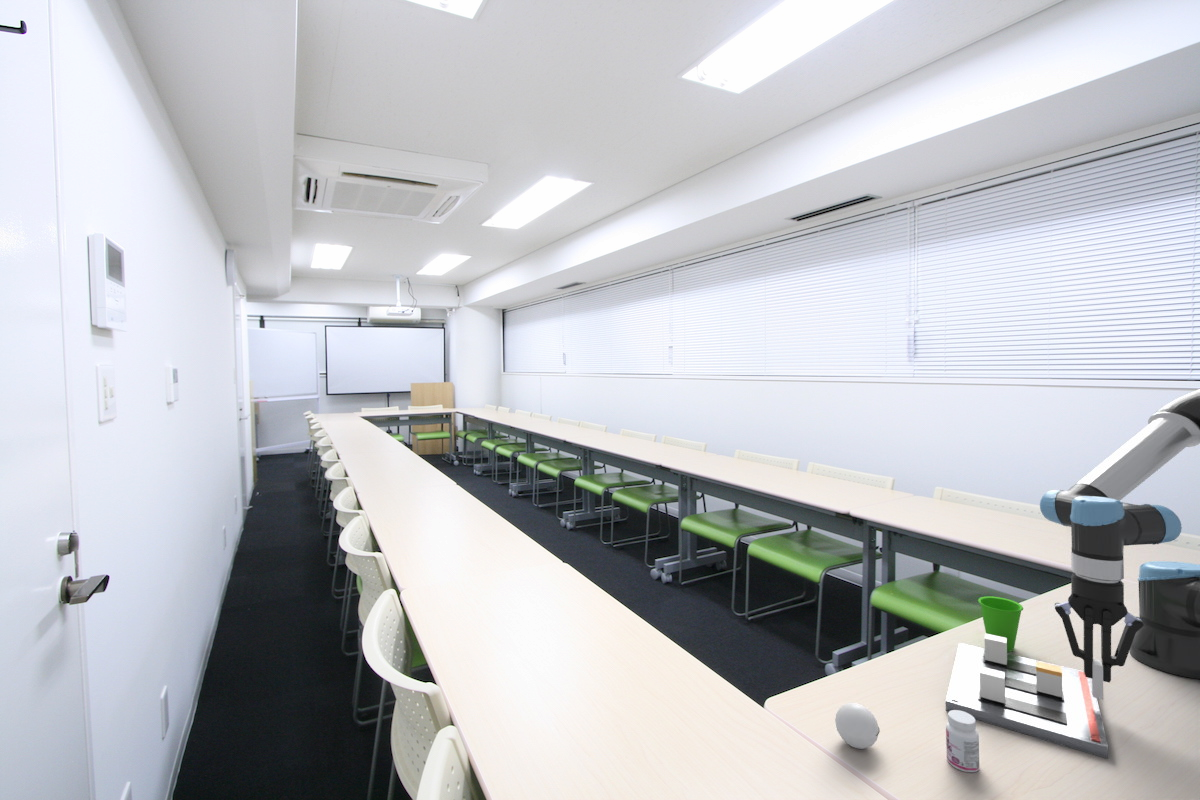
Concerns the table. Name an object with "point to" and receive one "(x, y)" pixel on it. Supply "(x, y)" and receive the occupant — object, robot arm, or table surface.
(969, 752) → the pill bottle
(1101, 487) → the robot arm
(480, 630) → the table surface
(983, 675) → the block
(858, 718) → the white oval ovoid
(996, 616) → the cup
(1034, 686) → the panel
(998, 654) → the block
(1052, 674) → the block
